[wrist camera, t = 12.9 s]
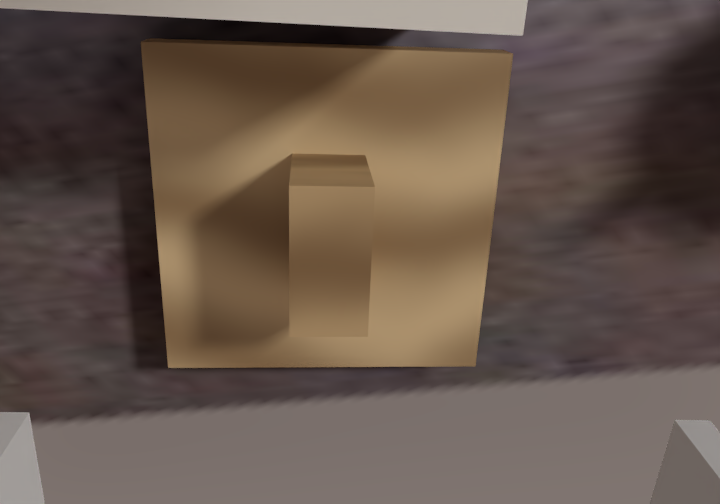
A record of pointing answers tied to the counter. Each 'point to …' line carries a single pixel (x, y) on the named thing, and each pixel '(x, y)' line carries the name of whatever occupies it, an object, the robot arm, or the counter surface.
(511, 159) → the counter surface
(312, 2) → the canister
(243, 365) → the lid
